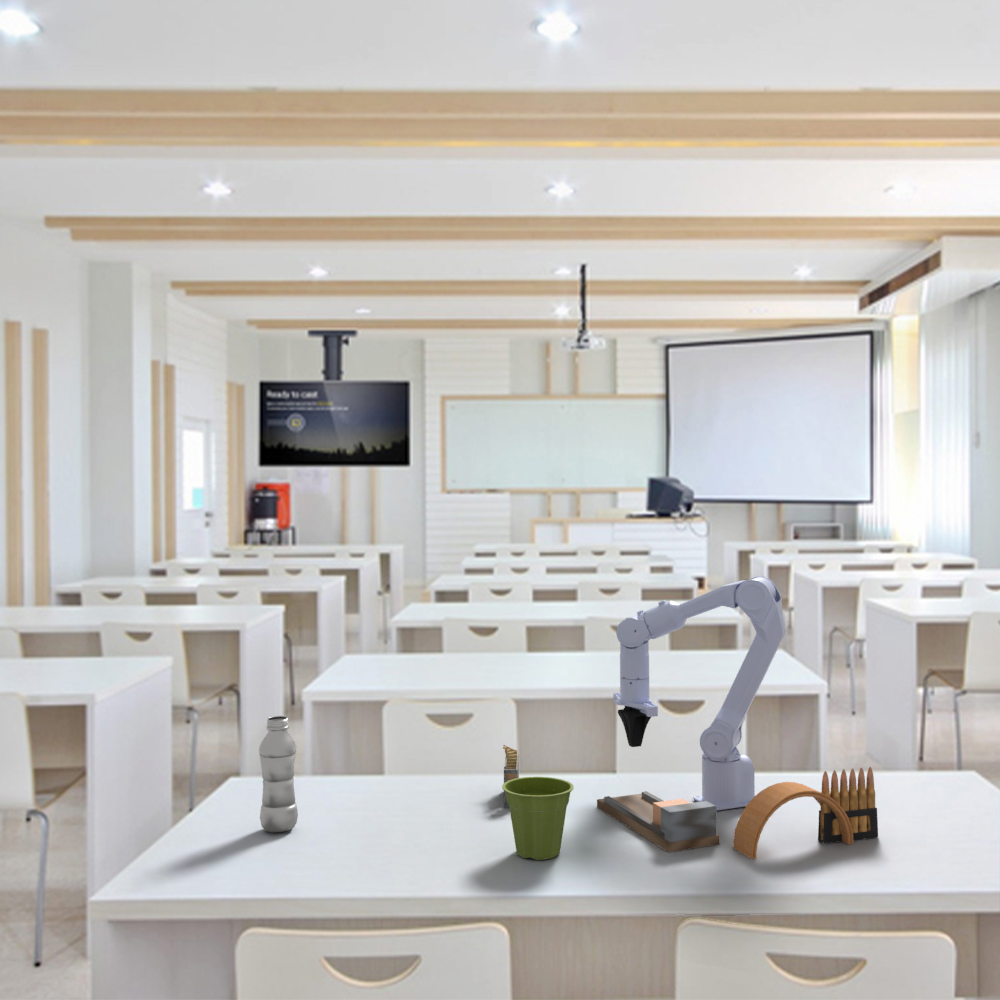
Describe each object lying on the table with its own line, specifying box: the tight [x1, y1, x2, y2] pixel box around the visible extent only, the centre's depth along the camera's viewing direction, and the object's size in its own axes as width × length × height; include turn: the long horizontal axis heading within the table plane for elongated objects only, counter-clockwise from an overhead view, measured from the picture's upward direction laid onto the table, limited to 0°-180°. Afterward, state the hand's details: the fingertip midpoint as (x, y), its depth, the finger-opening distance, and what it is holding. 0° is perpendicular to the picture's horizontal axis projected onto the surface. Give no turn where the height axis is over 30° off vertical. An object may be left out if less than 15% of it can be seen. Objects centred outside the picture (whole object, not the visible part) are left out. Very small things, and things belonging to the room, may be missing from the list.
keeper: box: [653, 798, 691, 827], centre depth 177 cm, size 6×5×4 cm
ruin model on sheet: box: [502, 744, 520, 809], centre depth 200 cm, size 11×3×10 cm, turn 178°
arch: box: [732, 781, 855, 860], centre depth 172 cm, size 6×20×10 cm, turn 109°
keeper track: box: [596, 790, 721, 853], centre depth 184 cm, size 10×26×6 cm, turn 21°
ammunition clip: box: [817, 766, 879, 844], centre depth 176 cm, size 11×2×12 cm, turn 106°
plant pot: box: [501, 776, 575, 861], centre depth 170 cm, size 12×12×11 cm
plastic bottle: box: [258, 715, 299, 833], centre depth 182 cm, size 6×7×20 cm
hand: (635, 745), depth 203 cm, fingers closed
